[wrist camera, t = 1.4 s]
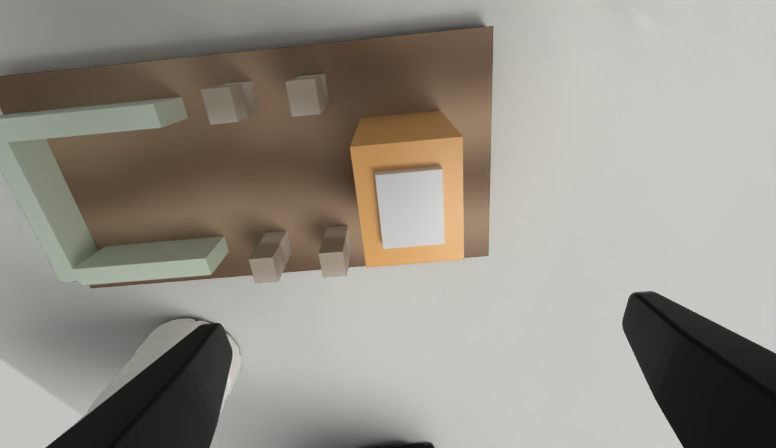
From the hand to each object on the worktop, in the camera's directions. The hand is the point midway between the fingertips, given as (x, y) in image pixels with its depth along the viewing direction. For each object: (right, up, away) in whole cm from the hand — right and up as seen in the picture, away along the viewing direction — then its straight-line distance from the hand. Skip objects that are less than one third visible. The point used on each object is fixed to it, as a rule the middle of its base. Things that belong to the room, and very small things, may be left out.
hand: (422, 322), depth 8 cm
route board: (-7, +5, +13) cm, 16 cm away
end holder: (-15, +4, +12) cm, 19 cm away
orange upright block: (0, +5, +11) cm, 13 cm away
